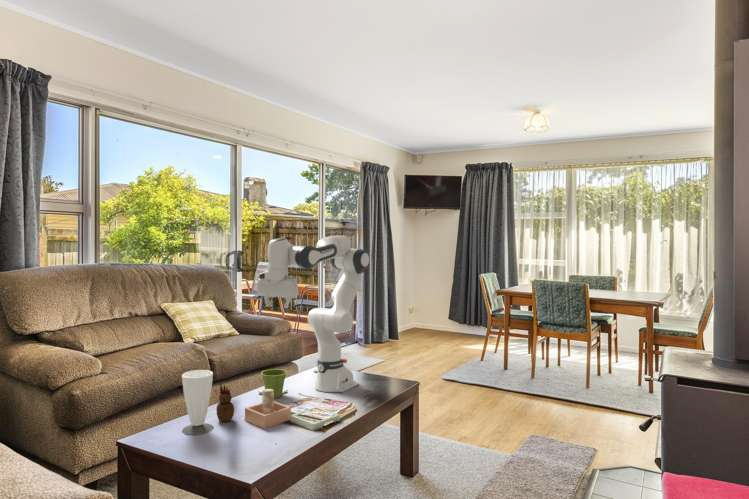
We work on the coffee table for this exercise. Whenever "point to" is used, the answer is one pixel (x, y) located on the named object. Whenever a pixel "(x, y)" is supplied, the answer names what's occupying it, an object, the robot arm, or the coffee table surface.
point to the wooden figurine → (225, 405)
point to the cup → (197, 400)
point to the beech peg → (267, 401)
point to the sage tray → (313, 425)
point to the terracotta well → (267, 415)
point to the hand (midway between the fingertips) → (277, 307)
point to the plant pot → (274, 380)
